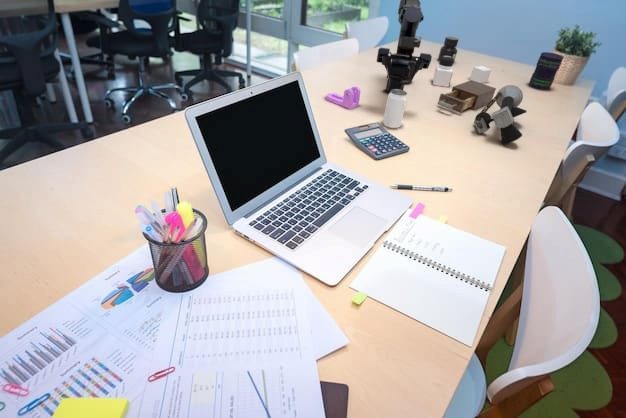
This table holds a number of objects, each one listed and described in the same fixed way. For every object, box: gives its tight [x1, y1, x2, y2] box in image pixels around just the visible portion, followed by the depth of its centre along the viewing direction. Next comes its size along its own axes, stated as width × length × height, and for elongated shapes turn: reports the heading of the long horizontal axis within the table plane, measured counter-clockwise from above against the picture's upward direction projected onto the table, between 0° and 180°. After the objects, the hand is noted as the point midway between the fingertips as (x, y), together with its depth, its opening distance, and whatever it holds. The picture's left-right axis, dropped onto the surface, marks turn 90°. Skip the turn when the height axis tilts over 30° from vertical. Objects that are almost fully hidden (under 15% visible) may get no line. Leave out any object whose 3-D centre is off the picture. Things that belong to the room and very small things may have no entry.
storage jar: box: [528, 52, 565, 91], centre depth 186 cm, size 10×10×15 cm
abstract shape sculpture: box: [473, 84, 527, 145], centre depth 142 cm, size 15×13×30 cm
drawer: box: [437, 90, 476, 114], centre depth 156 cm, size 19×10×4 cm, turn 134°
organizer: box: [451, 79, 497, 111], centre depth 164 cm, size 16×12×6 cm
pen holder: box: [404, 62, 415, 85], centre depth 177 cm, size 9×9×10 cm
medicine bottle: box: [432, 56, 455, 88], centre depth 178 cm, size 7×7×12 cm
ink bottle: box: [437, 36, 460, 64], centre depth 211 cm, size 10×9×12 cm
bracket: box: [326, 85, 361, 110], centre depth 151 cm, size 13×6×7 cm, turn 50°
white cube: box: [469, 65, 492, 84], centre depth 189 cm, size 6×6×6 cm
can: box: [382, 89, 408, 129], centre depth 136 cm, size 6×6×12 cm
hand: (399, 80), depth 138 cm, fingers open, 7 cm apart
